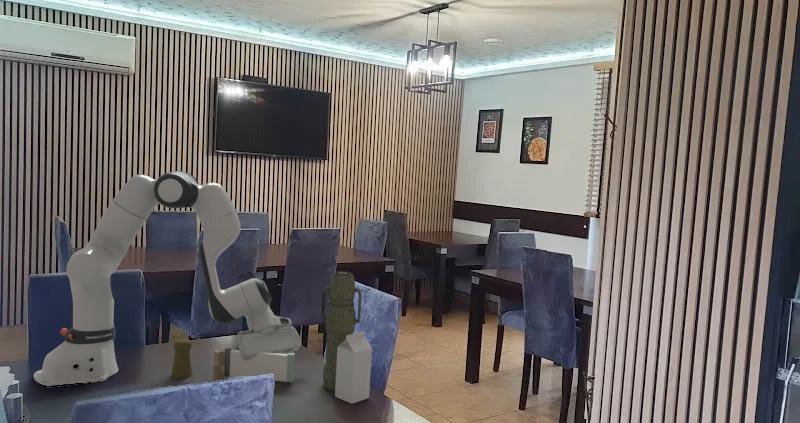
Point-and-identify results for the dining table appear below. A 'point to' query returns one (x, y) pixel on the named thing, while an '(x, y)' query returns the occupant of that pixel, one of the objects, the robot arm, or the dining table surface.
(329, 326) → the thermos
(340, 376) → the milk carton
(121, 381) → the dining table surface
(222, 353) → the gate post
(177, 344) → the cork
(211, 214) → the robot arm
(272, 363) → the gate
